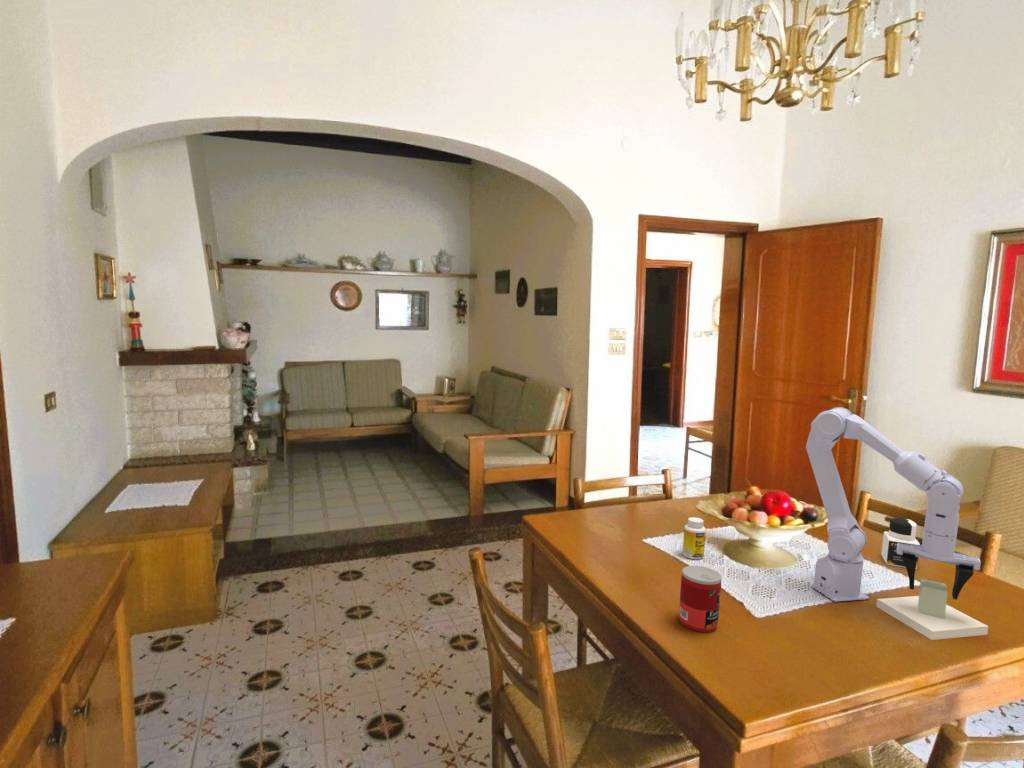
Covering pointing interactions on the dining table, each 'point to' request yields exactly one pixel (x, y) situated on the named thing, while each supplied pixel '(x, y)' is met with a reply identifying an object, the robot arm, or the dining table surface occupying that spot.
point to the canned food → (700, 598)
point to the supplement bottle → (694, 538)
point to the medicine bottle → (898, 540)
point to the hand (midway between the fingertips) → (932, 592)
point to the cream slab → (932, 619)
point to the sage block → (932, 598)
